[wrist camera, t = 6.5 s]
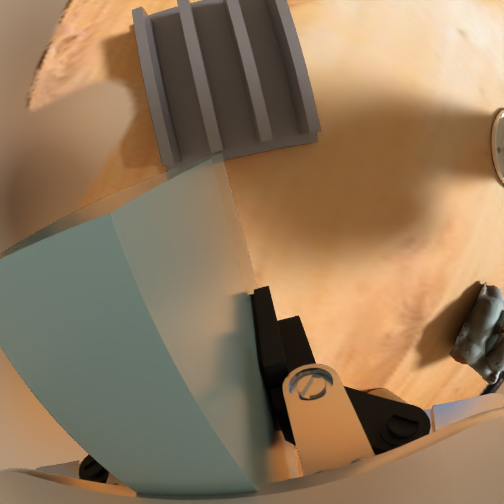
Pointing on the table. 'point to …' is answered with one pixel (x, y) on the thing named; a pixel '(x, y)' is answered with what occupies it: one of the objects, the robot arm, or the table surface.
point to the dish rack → (224, 79)
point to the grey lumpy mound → (483, 336)
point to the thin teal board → (149, 336)
